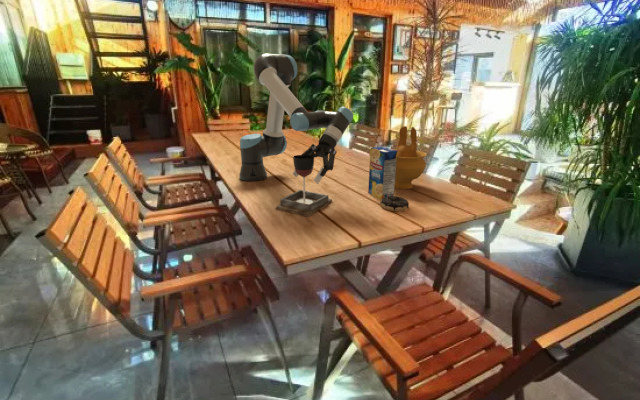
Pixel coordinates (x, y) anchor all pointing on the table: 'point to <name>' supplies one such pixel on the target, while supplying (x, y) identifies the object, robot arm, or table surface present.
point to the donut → (394, 203)
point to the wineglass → (304, 171)
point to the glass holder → (301, 208)
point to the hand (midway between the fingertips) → (304, 178)
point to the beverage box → (382, 172)
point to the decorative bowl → (408, 160)
